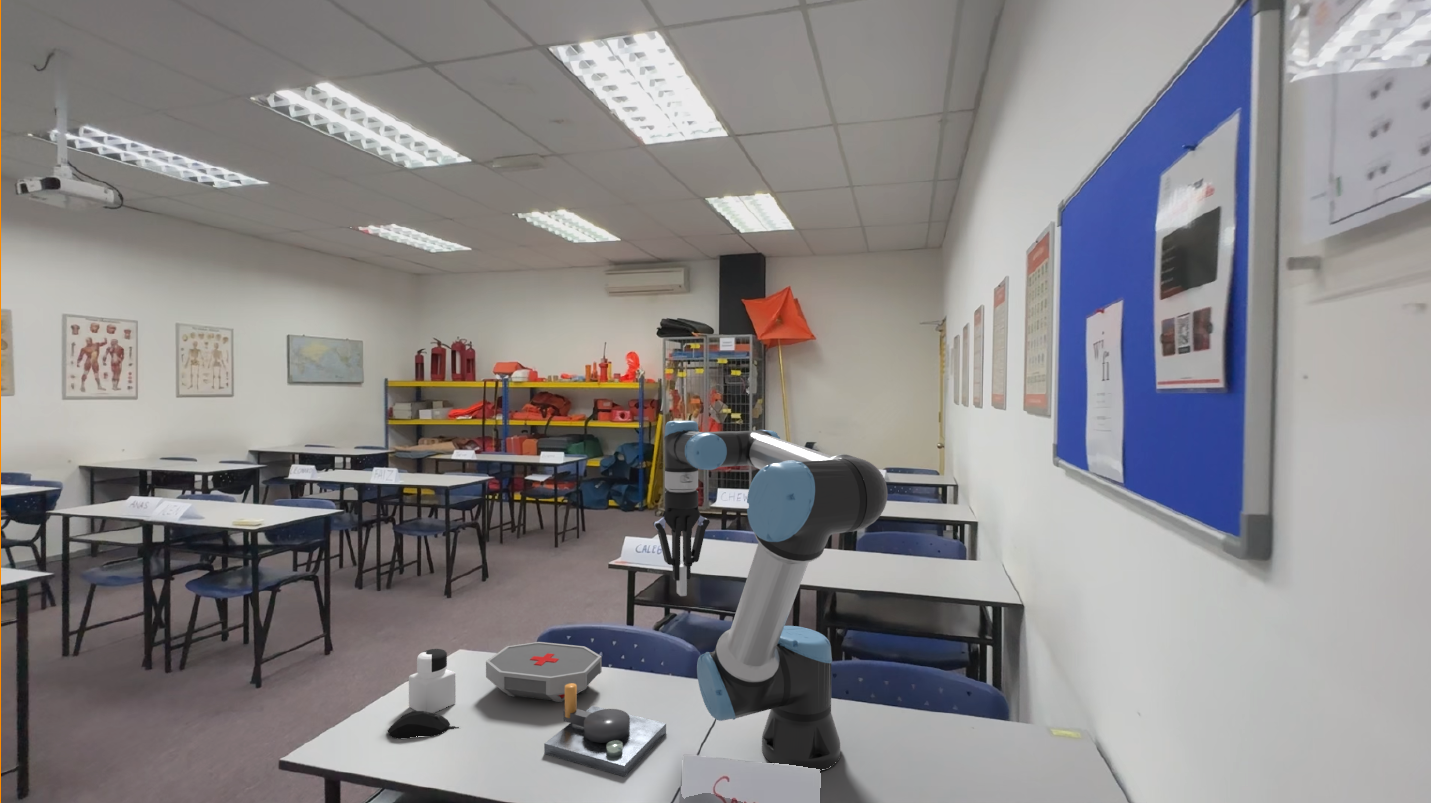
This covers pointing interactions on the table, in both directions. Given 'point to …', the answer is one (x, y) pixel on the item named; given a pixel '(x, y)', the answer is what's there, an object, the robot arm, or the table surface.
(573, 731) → the base
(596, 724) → the domed crank handle
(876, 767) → the table surface
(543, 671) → the first aid kit
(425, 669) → the medicine bottle
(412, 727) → the gaming mouse
